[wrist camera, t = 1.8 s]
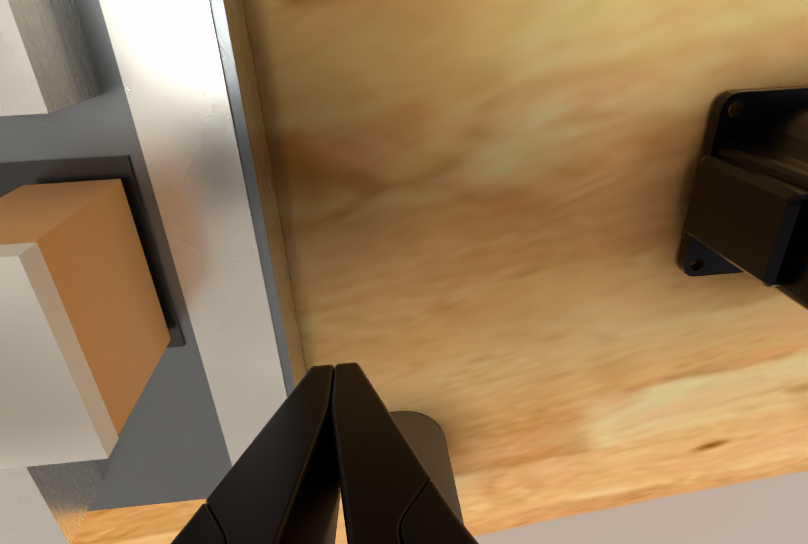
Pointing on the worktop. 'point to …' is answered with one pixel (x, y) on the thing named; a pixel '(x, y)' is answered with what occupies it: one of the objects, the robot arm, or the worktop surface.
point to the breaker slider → (72, 321)
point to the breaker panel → (158, 233)
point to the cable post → (430, 452)
